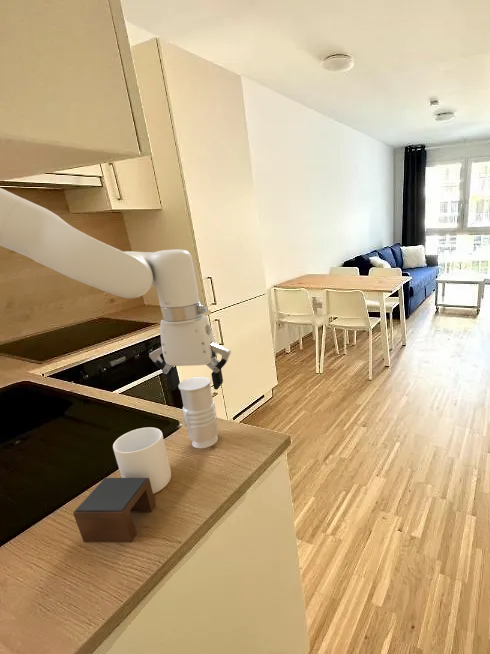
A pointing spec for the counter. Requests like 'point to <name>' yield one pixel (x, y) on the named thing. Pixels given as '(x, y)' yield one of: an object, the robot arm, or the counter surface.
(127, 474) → the mug
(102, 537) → the shelf
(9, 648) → the counter surface
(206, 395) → the white ribbed cylinder
